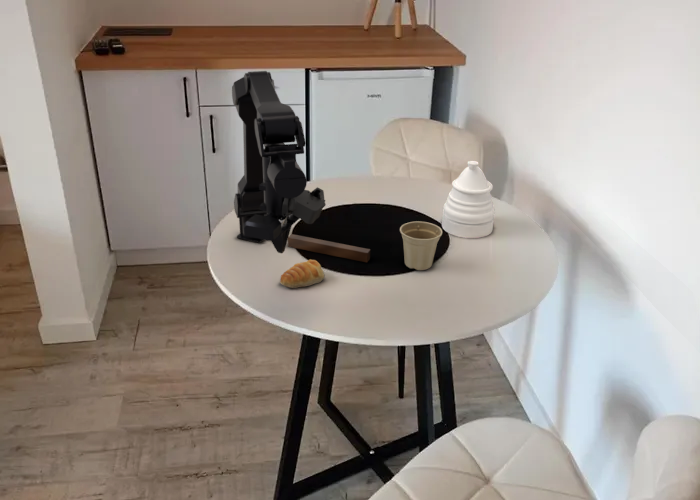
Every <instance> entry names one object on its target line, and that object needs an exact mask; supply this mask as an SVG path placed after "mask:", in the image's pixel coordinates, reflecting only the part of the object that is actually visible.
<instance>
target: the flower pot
mask: <svg viewBox="0 0 700 500" xmlns="http://www.w3.org/2000/svg"><path fill="white" fill-rule="evenodd" d="M399 232H400V234H401V237H402V243H403V244H402V245H403V256H404V265H405V266H406V267H407V268H409V269H415V270H416V271H425V270H428V269H430V268H431V267H432V265H433V263H434V258H435V254H436V250H437V246H438V245H437V244H438V242H439V240H440V238H441V237H442V235H443V228H441V227H440V226H438V225H437V224H435V223H431V222H427V221H419V220H418V221H410V222H407V223H403V224H401V226H400V227H399Z"/></svg>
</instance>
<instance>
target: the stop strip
mask: <svg viewBox="0 0 700 500" xmlns="http://www.w3.org/2000/svg"><path fill="white" fill-rule="evenodd" d="M287 247H288V248H292V249H293V248H294V249H298V250H301V251H308V252H313V253H318V254H323V255H328V256H332V257H338V258H343V259H348V260H351V261H357V262H363V263H369V261H370V259H371V249H370V248H365V247H359V246H355V245H349V244H344V243H341V242H340V243H339V242H335V241H329V240H325V239H324V240H323V239H320V238H319V239H318V238H315V237H314V238H313V237H309V236H304V235H298V234H293V233H291V234H289V236H288V240H287Z"/></svg>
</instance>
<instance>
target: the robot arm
mask: <svg viewBox="0 0 700 500" xmlns="http://www.w3.org/2000/svg"><path fill="white" fill-rule="evenodd" d="M278 95H279V94H278V93H277V90H276V87H275V80H274V79H273V78H272V73H271V72H270V71H267V70H255V71H253V70H252V71H247V72H245V73H244V74H243V76H242V77H241V78H239V79H237V80H235V81H234V82H233V83H232V87H231V98H232V105H233V106H235V109H236V112H237V115H238V117H239V118H240V120H241V121H242V132H243V133H242V136H243V138H242V139H243V176H242V177H241V178H240V180H239V181H238V183H237V192H236V193H234V198H233V199H234V200H233V209H234V213H235V214H236V218H237V219H238V221H239V223H238V224H239V234H237V235H236V239H238V240H243V241H247V242H248V241H249V242H253V243H258V244H259V243H260V244H261V243H262V242H263V241H268V242H271V244H272V245H273V247H274V249H275V250H276V253H278V254H283V253H284V252H285V251H286V246H287V244H288V237H289V236H290V232H291V229H292V226H293V225H295V224H296V222H297V221H299V220H302V221H303V222H304V223H305V224H307V225H313V224H314V223H315V222H316V220H317V219H319V218H320V216H321V213H322V211H323V208H325V207H326V205H327V204H326V199H325V191H324V190H323V189H322V188H320V187H318V186H317V187H315V188H314V189H313V190H312V191H310V190H308V189H306V188H307V184H308V183H307V182H308V180H307V178H306V177H307V176H306V174H305V173H304V171H303V170H302V168H301V166H300V164H299V163H298V162H297V155H303V154H305V148H304V147H306V144H307V142H306V139H305V133H304V128H303V124H302V121H301V120H300V117H299V116H298V115H296V113H295V111H294V109H293V108H292V107H291V106H290V105H288V104H285V103H282V102H281V100H280V98H279V96H278ZM295 142H296V143H295Z"/></svg>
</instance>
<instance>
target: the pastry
mask: <svg viewBox="0 0 700 500" xmlns="http://www.w3.org/2000/svg"><path fill="white" fill-rule="evenodd" d="M324 279H325V272H324V270H323V268H322V265H321V264H320V263H319V262H318V261H317V260H316V259H311V258H310V259H308V260H307V261H302V262H297V263H295V264H294V265H293V266H291V267H290V268H289V269H287V270H285V271H284V272H283V273H282V274H281V276H280V280H279V282H280V284H281V285H282V286H284V287H286V288H290V289H298V288H304V287H309V286H313V285H314V284H319V283H321V282H322V281H323V280H324Z"/></svg>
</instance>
